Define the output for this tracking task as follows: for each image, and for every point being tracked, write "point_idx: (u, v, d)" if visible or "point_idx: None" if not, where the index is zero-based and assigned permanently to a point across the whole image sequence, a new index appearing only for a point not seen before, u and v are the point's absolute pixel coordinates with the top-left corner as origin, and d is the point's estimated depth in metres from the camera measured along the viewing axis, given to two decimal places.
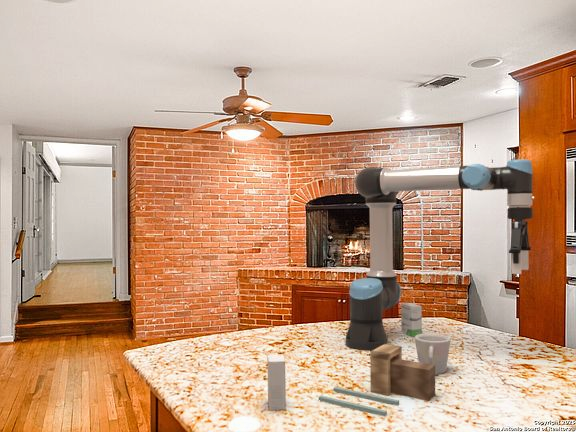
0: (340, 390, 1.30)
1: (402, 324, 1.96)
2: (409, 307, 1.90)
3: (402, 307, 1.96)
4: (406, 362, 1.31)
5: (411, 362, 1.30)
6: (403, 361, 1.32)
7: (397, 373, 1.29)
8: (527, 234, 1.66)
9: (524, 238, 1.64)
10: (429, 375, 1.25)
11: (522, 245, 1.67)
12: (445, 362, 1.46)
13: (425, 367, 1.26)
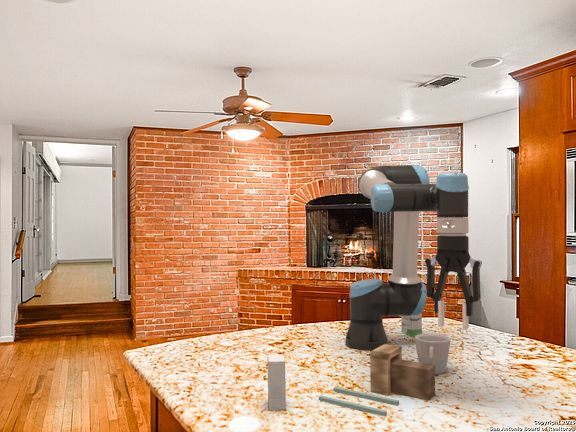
0: (340, 390, 1.30)
1: (402, 324, 1.96)
2: None
3: None
4: (406, 362, 1.31)
5: (411, 362, 1.30)
6: (403, 361, 1.32)
7: (397, 373, 1.29)
8: (472, 278, 1.19)
9: None
10: (430, 375, 1.25)
11: None
12: (445, 362, 1.46)
13: (425, 367, 1.27)
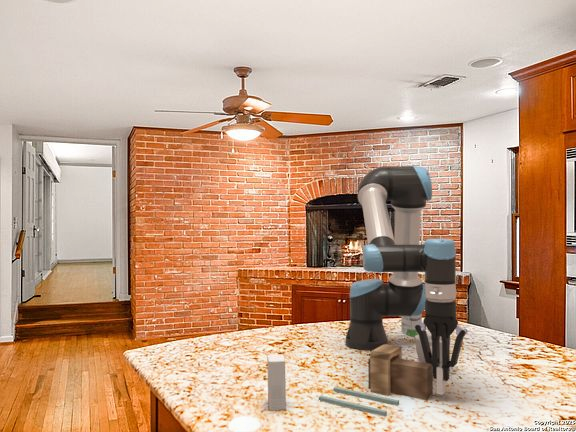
0: (340, 390, 1.30)
1: (402, 324, 1.96)
2: None
3: None
4: (404, 361, 1.31)
5: (409, 361, 1.31)
6: (401, 360, 1.32)
7: (395, 372, 1.29)
8: (454, 345, 1.22)
9: None
10: (427, 374, 1.25)
11: None
12: None
13: (423, 366, 1.27)
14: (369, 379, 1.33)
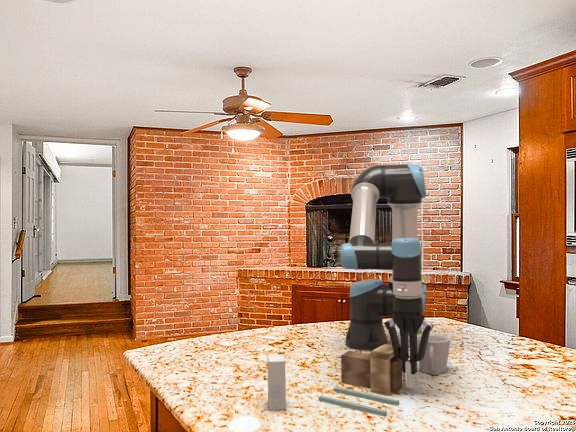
0: (340, 390, 1.30)
1: None
2: None
3: None
4: None
5: None
6: None
7: (366, 368, 1.34)
8: None
9: None
10: (396, 369, 1.30)
11: None
12: (445, 362, 1.46)
13: (392, 361, 1.32)
14: (342, 374, 1.38)
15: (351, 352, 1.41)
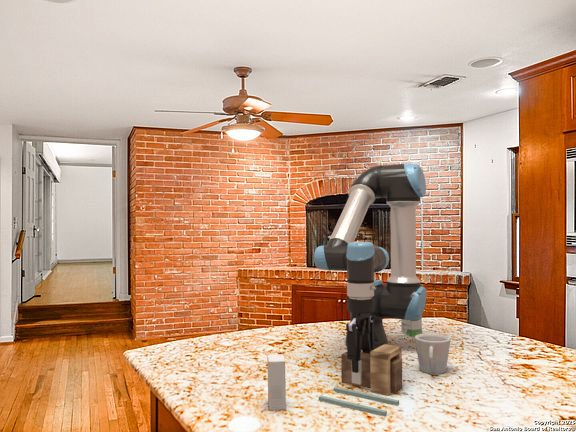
0: (340, 390, 1.30)
1: (402, 324, 1.96)
2: None
3: None
4: None
5: None
6: None
7: (365, 367, 1.34)
8: (372, 332, 1.41)
9: (366, 336, 1.39)
10: (396, 369, 1.30)
11: (364, 346, 1.40)
12: (445, 362, 1.46)
13: (392, 361, 1.31)
14: (342, 373, 1.38)
15: None
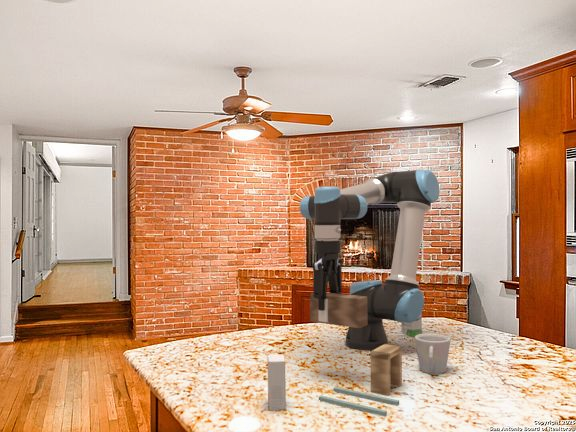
0: (340, 390, 1.30)
1: (402, 324, 1.96)
2: None
3: None
4: (342, 295, 1.41)
5: (346, 295, 1.41)
6: (339, 294, 1.42)
7: (332, 305, 1.40)
8: (339, 274, 1.47)
9: (333, 277, 1.44)
10: (360, 304, 1.35)
11: (331, 287, 1.46)
12: (445, 362, 1.46)
13: (357, 297, 1.37)
14: (310, 312, 1.44)
15: None
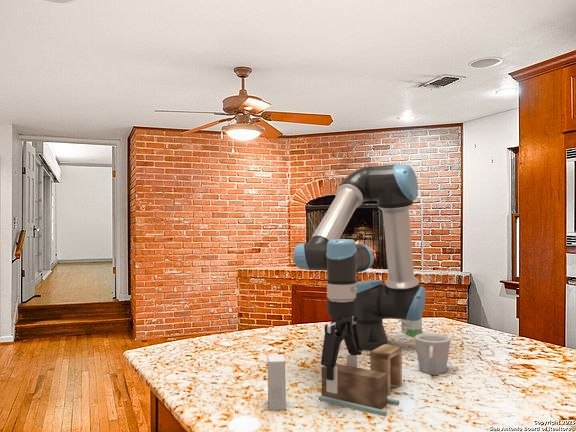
0: None
1: (402, 324, 1.96)
2: None
3: None
4: (358, 370, 1.25)
5: (363, 370, 1.24)
6: (355, 369, 1.25)
7: (347, 382, 1.23)
8: (356, 333, 1.31)
9: (350, 339, 1.29)
10: (379, 384, 1.19)
11: (349, 348, 1.31)
12: (445, 362, 1.46)
13: (375, 375, 1.20)
14: (322, 388, 1.27)
15: None
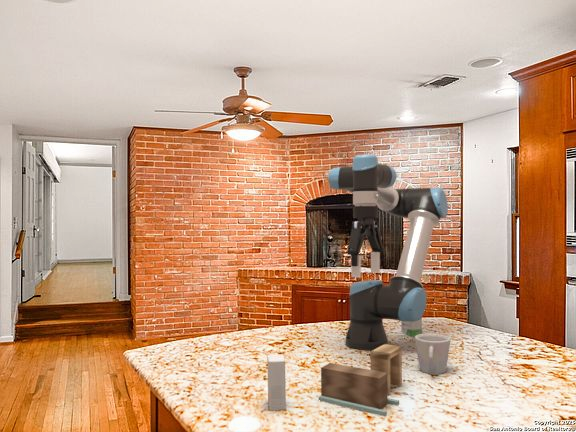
0: None
1: (402, 324, 1.96)
2: None
3: None
4: (358, 370, 1.25)
5: (363, 370, 1.24)
6: (355, 369, 1.25)
7: (347, 382, 1.23)
8: (378, 234, 1.56)
9: (373, 239, 1.54)
10: (380, 384, 1.19)
11: (373, 246, 1.56)
12: (445, 362, 1.46)
13: (376, 375, 1.20)
14: (322, 389, 1.27)
15: (333, 364, 1.30)
